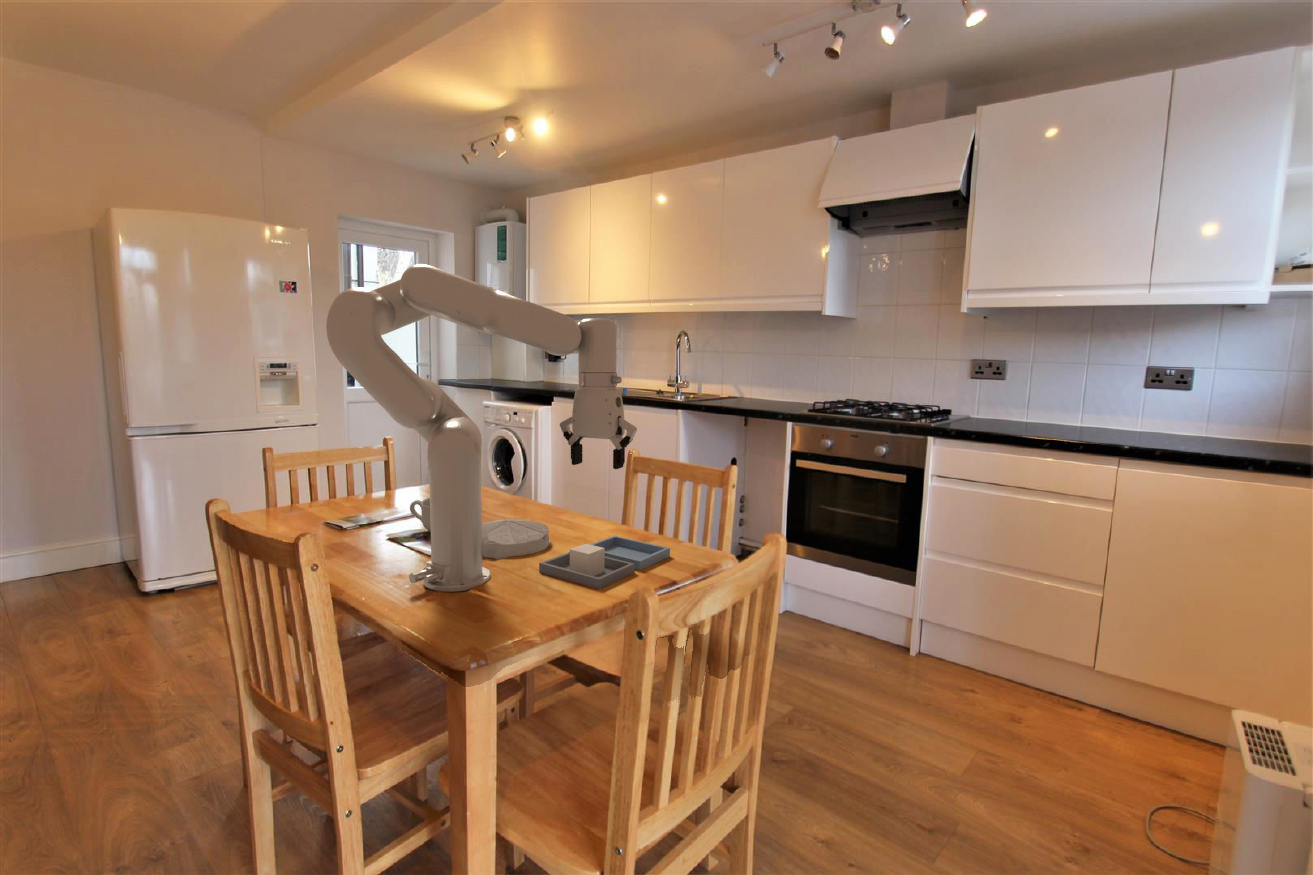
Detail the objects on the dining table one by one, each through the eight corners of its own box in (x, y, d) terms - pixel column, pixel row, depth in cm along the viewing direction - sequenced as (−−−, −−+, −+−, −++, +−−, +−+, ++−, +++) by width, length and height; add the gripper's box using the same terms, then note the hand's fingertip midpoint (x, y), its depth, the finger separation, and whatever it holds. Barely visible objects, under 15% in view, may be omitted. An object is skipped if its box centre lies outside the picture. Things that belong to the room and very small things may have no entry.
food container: (561, 538, 156) (561, 511, 156) (538, 563, 137) (538, 532, 136) (483, 535, 158) (483, 508, 157) (449, 558, 139) (449, 528, 138)
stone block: (588, 578, 126) (588, 554, 125) (569, 573, 128) (569, 549, 128) (604, 571, 130) (604, 548, 129) (585, 566, 133) (585, 543, 132)
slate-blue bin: (639, 572, 131) (640, 561, 131) (582, 558, 140) (582, 547, 140) (669, 558, 141) (670, 547, 141) (614, 545, 149) (614, 535, 149)
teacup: (475, 528, 162) (474, 497, 161) (450, 539, 151) (449, 507, 150) (427, 522, 165) (427, 493, 164) (400, 533, 155) (399, 502, 154)
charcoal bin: (598, 592, 120) (599, 579, 120) (539, 574, 129) (539, 562, 128) (634, 575, 130) (634, 563, 129) (576, 560, 138) (576, 549, 138)
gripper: (644, 382, 126) (643, 467, 128) (570, 379, 133) (571, 459, 135) (627, 383, 119) (626, 473, 121) (550, 380, 126) (551, 465, 128)
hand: (597, 466), depth 128 cm, fingers open, 9 cm apart
